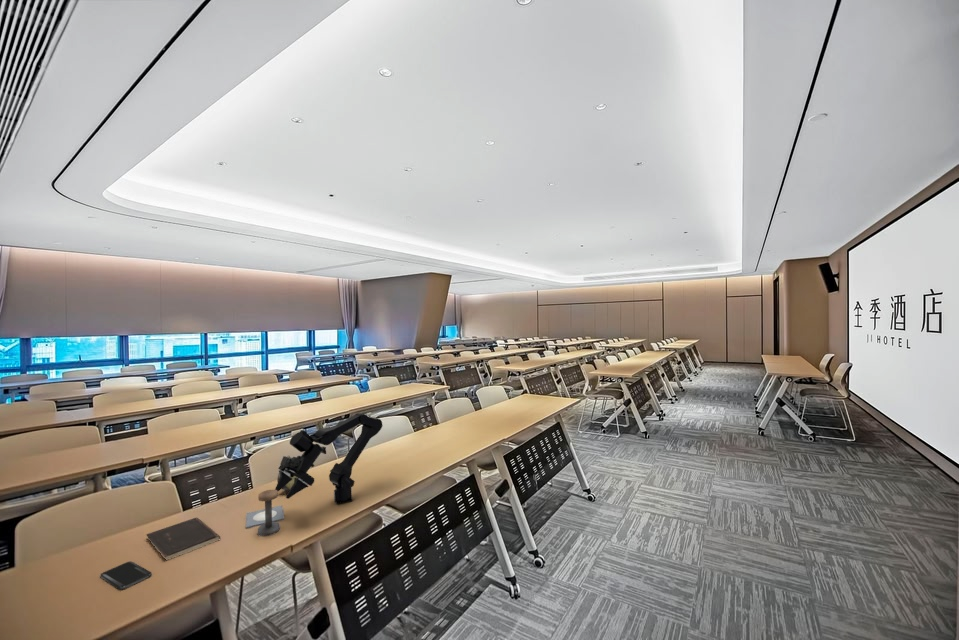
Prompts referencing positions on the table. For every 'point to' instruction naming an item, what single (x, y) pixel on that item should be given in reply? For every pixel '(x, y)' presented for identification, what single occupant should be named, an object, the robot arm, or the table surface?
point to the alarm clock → (288, 485)
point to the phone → (126, 575)
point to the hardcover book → (182, 538)
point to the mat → (263, 517)
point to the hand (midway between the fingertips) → (280, 495)
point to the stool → (268, 513)
